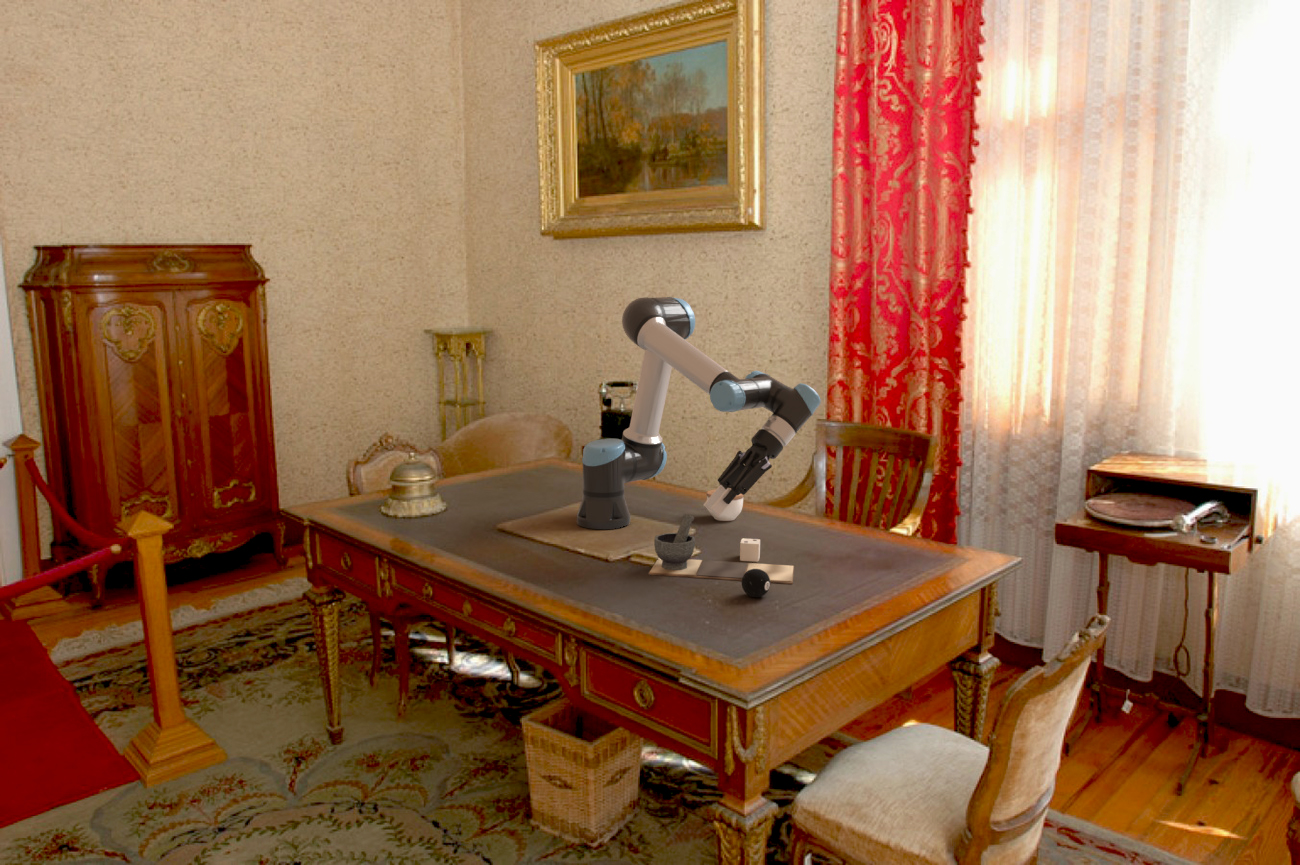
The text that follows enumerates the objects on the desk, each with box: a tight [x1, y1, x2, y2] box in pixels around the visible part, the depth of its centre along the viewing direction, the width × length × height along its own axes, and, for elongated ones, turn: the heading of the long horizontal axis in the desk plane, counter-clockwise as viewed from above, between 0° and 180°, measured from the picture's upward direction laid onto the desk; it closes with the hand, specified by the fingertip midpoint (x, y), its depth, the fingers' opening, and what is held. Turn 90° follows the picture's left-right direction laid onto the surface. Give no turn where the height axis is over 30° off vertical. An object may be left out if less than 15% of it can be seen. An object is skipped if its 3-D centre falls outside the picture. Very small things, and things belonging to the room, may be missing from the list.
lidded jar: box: [706, 488, 745, 522], centre depth 262 cm, size 11×11×9 cm
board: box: [647, 558, 795, 585], centre depth 212 cm, size 33×13×1 cm, turn 79°
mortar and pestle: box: [654, 513, 696, 570], centre depth 213 cm, size 11×9×12 cm
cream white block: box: [739, 538, 761, 563], centre depth 222 cm, size 4×4×5 cm
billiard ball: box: [741, 569, 771, 598], centre depth 194 cm, size 6×6×6 cm
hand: (711, 510), depth 216 cm, fingers open, 3 cm apart
